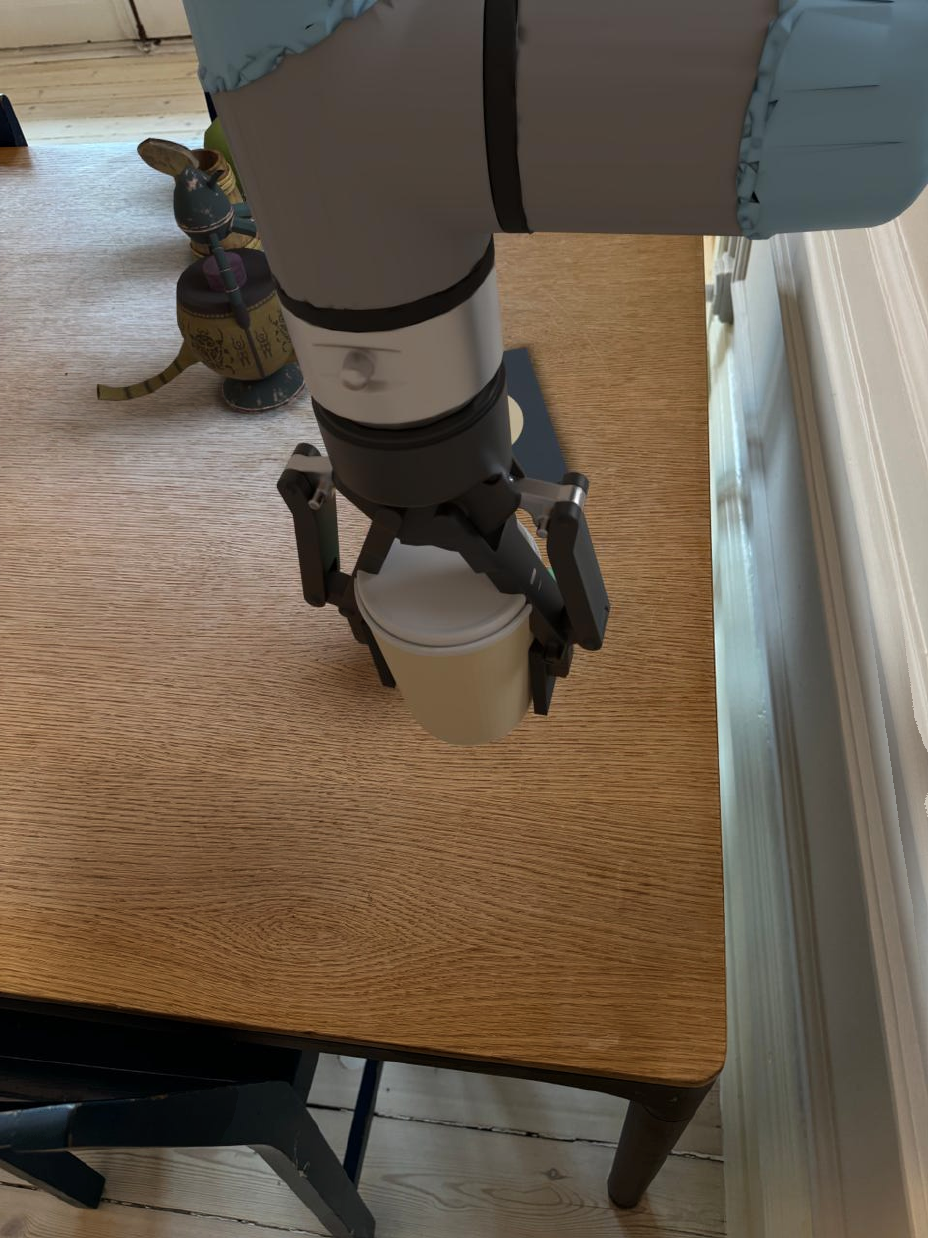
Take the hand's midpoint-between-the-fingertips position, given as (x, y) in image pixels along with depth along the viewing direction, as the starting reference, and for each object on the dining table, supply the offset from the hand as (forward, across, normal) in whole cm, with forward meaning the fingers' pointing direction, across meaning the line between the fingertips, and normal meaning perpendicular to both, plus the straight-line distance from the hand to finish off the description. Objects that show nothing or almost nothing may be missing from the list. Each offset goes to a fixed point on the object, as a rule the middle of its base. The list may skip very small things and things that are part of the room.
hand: (468, 681), depth 50 cm
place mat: (+14, -11, +36) cm, 41 cm away
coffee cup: (+1, 0, 0) cm, 1 cm away
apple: (+14, -52, +77) cm, 94 cm away
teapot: (+14, -38, +37) cm, 55 cm away
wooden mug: (+14, -50, +60) cm, 79 cm away
